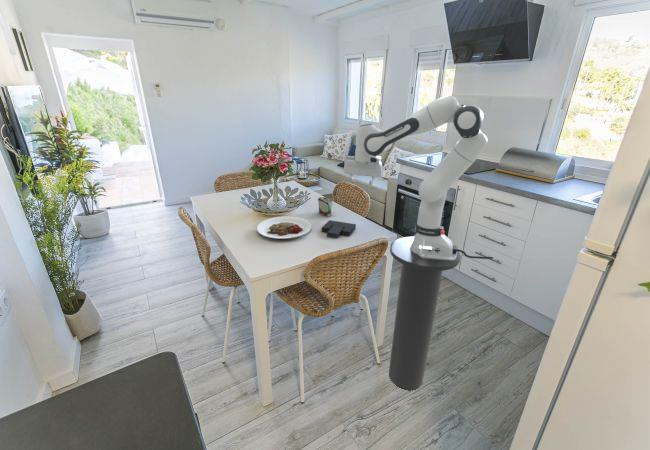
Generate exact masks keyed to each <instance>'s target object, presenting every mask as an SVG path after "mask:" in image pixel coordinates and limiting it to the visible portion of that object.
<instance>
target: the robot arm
mask: <svg viewBox="0 0 650 450" xmlns="http://www.w3.org/2000/svg"><path fill="white" fill-rule="evenodd" d="M484 119H485V116H484V112H483V110H482V109H481V107H479V106H478V105H475V104H460V103H459V101H458V100H457V98H456V97H455V96H453V95H450V94H449V95H445V96H442V97H439V98H437V99H434V100H433V101H431V102H428V103H426V104H425V105H423V106H422V107H420V108H419V109H417V110H416V111H414V112H413V113H412V114H411V115H409V116H408V117H407V118H405V119H404V120H403V121H402V122H400V123H398V124H396V125H394V126H392V127H390V128H388V129H386V130H385V131H383V130H381V129H379V128H378V127H377V126H375V125H374V124H373V123H367V124H360V125H359V126H358V127H357V129H356V135H355V146H356V147H355V152H354V156H353V155H347V156H345V157H344V159H343V163H344V166H343V174H345V175H349V178H350V180H351V184H355V183H356V178H354V176H363V177H371V180H369V182H368V185H369V186H372V185H373V184H374V181H375V179H376V178H381V177H382V176H383V172H384V169H383V163H382V157H381V156H380V155H381V154H382V153H385V152H387V151H389V150H390V149H391V148H392V147H393V144H394V143H396V142H397V141H400V140H401V139H404V138H406V137H408V136H413V135H419V134H423V133H426V132H427V133H428V132H430V131H431V130H435V129H437V128H439V127H441V126H443V125H445V124H447V123H452V124H453V126H454V128H455V129H456V131H457V132H458V134H459V135H460V138H459V140H458V141H457V142H456V143H455V144H454V145H453V146H452V148H451V149H450V150H449V151H448V152H447V154H446V155H445V156H444V157H443V158H442V160H440V162H438V164H437V165H436V166H435V167H434V168H433V169H432V170H431V171H430V172H429V174H428V175H426V177H424V179H423V181H421V183H420V184H419V187H418V196H419V198H420V199H421V200H420V204H419V207H418V211H417V212H418V213H417V219H416V223H415V227H414V236H415V237H414V240H413V243H412V245H411V247H410V249H411V251H412V252H414V253H415V254H417V255H419V256H420V257H421V258H426V259H437V260H448V261H453V260H455V259H456V257H457V251H459V253H462V254H463V255H464V256H465V257H466V258H470V259H480V260H481V259H482V260H493V259H494V257H493V256H479V255H476V256H475V255H469V254H467V253H466V252H465V251H464V250H462V249H458V246H457V245H454V244H453V241H452V240H451V239H450V238H449V237H448V236H447V235H446V234H445V233H446V231H445V228H444V226H442V225H441V223H442V216H443V212H444V207H445V203H446V199H447V195H448V191H449V190H450V188H451V187H452V186H453V185H455V183H456V182H457V181H458V180H459V179H460V177H461V176H462V175H463V174H464V173H465V172H466V171H467V170H468V169H469V168H470V167H471V166H472V165H473V164H474V162H475V161H476V160H477V159H478V158H479V157H480V156H481V154H482V153H483V151H484V150H485V149H486V147H487V145H488V143H489V140H488V137H487V136H486V134H485V133H484V132H483V131H482V130H481V127H482V124H483V122H484Z"/></svg>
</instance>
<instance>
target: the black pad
mask: <svg viewBox="0 0 650 450" xmlns="http://www.w3.org/2000/svg"><path fill="white" fill-rule="evenodd" d="M333 226H338V227H343V230H342V234H341V235H342V236H347V237H350V236H351V235H352V234H353V232H354V231H355V229H356V226H357V224H356V223H350V222H344V221H339V220H338V221H337V220H331V219H329V220H328V221H327V222H326V223H324V224H323V226H322V227H321V232H323V233H327V232H328V231H329V230H330V229H331V228H332V227H333Z"/></svg>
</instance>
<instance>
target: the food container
mask: <svg viewBox="0 0 650 450" xmlns="http://www.w3.org/2000/svg"><path fill="white" fill-rule="evenodd" d="M317 201H318V213H319V214H320V215H322V216H325V217H326V218H329V217H331V216H332V210H333V209H332V208H333V205H334V201H333V199H332V198H331V197H326V196H323V197H318V198H317Z"/></svg>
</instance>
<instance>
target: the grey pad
mask: <svg viewBox="0 0 650 450" xmlns="http://www.w3.org/2000/svg"><path fill="white" fill-rule="evenodd" d="M342 230H343V227H338V226H333V227H332V228H331V229H330V230H329V231H328V232H326V237H328V238H332V239H333V238H334V239H338V238H339V237H340V236H341V235H342Z"/></svg>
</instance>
